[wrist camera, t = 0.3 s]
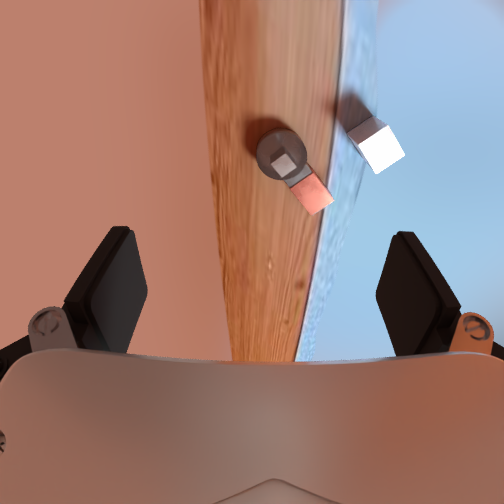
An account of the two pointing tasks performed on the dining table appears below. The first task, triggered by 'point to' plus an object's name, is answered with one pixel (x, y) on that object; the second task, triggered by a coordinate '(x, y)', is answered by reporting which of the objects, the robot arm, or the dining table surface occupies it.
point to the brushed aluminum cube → (376, 143)
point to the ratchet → (292, 168)
